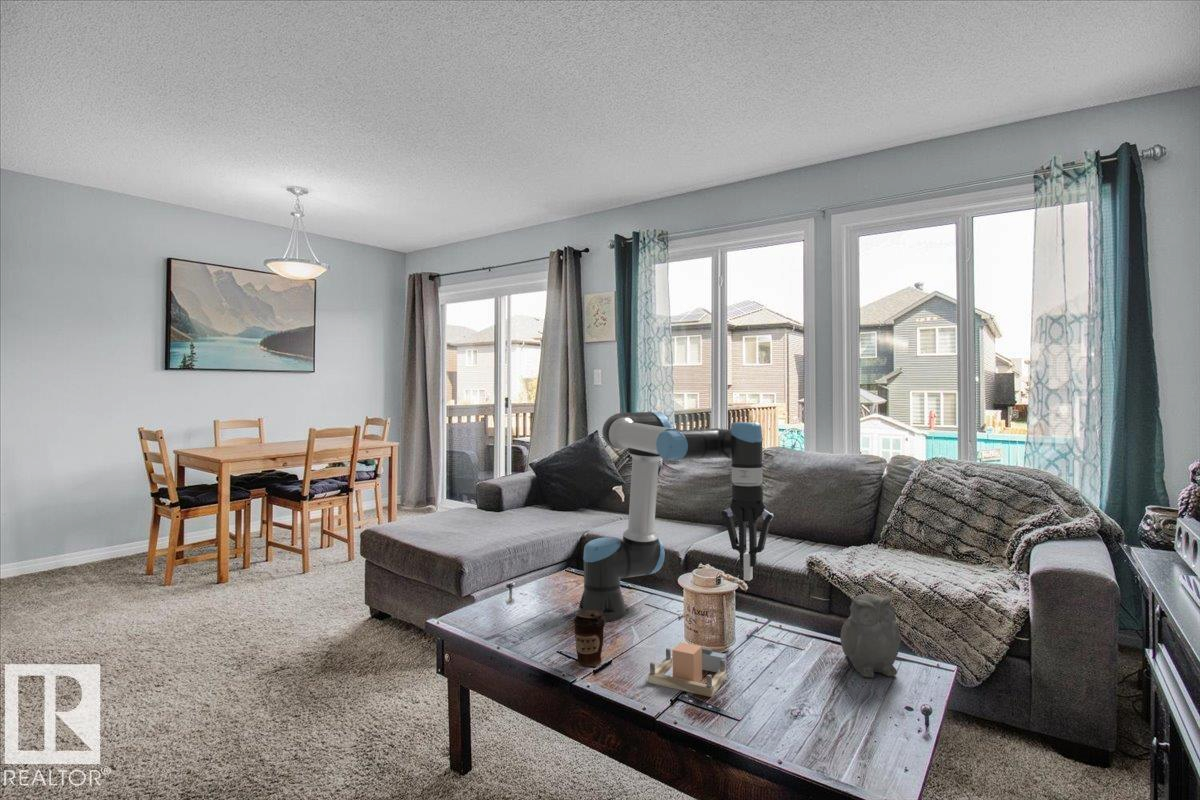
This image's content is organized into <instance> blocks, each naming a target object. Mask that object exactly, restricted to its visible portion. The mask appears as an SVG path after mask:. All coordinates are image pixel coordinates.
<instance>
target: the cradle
mask: <svg viewBox="0 0 1200 800" xmlns="http://www.w3.org/2000/svg"><path fill="white" fill-rule="evenodd" d="M671 656H672V655H671V648H666V649H665V658H664V659H663V661H661V662H659V664H658V665H657V666H656V663H655V662H649V673H648V678H647V679H648V683H649V684H653V685H657V686H662V687H666V688H671V689H675V690H679V691H683V692H686V693H687V692H688V693H692V694H697V695H700V696H705V697H709V698H712V697H713V696H714V695H715V694H716V692H717V691H718V690H719V688H720V687H721V686H722V685H723V683H724V682H725V681H726V680H727V676H728V674H727V670H725V660H724V659H720V670H719V671H718V672H717V673H716V674H715V675H714V676H713V675H712V674H706V683H702V682H699V683H698V682H694V681H689V680H685V679H680V678H676V677H673V676H671V675H666V673H667V672H668V671H669V670H671V668H673V657H671Z"/></svg>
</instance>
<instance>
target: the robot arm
mask: <svg viewBox="0 0 1200 800" xmlns="http://www.w3.org/2000/svg"><path fill="white" fill-rule="evenodd" d="M761 425H762V424H760V423H759V422H757V421H756V422H755V421H754V422H753V421H751V422H749V421H740V422H739V421H737V422H736V421H735V422H732V423H731V425H730V429H725V428H724V429H723V428H710V429H677V428H673V427H672V424H671V421H669V418H668V417H667V416H666V415H665V414H663V413H662V412H654V411H643V412H640V411H638V412H637V411H636V412H635V411H633V412H618V413H616V414H613V415H611V416H609V418H607V419H606V421H605V422H604V424H603V426H602V431H601V433H602V438H603V440H604V441H605V444H607V445H608V446H609V447H611V448H613V449H617V450H627V453H628V455H630V457H631V459H632V461H631V474H630V475H631V478H630V489H629V490H630V492H629V493H630V495H629V506H628V507H629V509H628V522H627V523H628V524H627V525H628V526H627V529H626V530H625V531H623V534H622V540H620V539H619V538H618V537H614V536H608V537H607V536H606V537H605V536H604V537H598V538H595V539H592V540H589V541H588V542H587V543H586V544H585V545H584V548H583V558H582V560H583V586H584V587H583V592H582V595H581V598H580V601H579V605H578V612H582V611H585V610H597V611H601V612H603V616H604V617H605V618H606V620H605V622H611V621H617V620H619V619H622V618H624V617H625V616H626V615H627V614H626V613H627V606H626V603H625V600H624V596H623V594H622V590H621V579H626V578H634V577H641V576H648V575H652V574H656V573H658V571H659V570H661V569H662V567H663V565H664V562H665V555H666V554H665V549H664V544H663V542H662V540H661V539H660V538H659V534H658V533H657V532H656V531H655V526H656V525H655V523H656V522H655V521H656V509H657V495H658V493H657V492H658V480H659V479H658V476H659V465H660V463H659V462H660V459H661V460H664V461H675V462H676V461H681V460H694V459H695V460H698V459H703V460H704V459H731V465H730V466H731V482H732V485H731V503H730V505H729V507H728V508H726V509H724V510H722V511H721V516H722V517H723V519H724V520H725V524H726V528H727V532H728V537H729V541H730V545H731V549H732V550H735V551H737V552H738V553H739V565H740V566H741V567H743V581H748V582H750V581H752V580H753V576H754V575H753V570H754V569H753V568H755V567H756V565H757V554H758V553H761V552H763V551H764V550H765V546H766V543H767V537H768V534H769V528H770V525H771V522H772V520H773V519H774V518H775V514H774V513H773V512H770V511H768V510H766V505H765V504H764V495H763V494H764V492H763V491H764V488H763V486H762V483H763V481H764V480H763V476H764V475H763V474H764V473H763V440H764V439H763V430H762V426H761ZM733 514H734V516H735V518H736V519H737V522H738V523H737V525H738V534H737V529H736V525H735V523H734V522H735V521H734V518H733ZM761 516H762V519H763V521H762V525H761V529H760V532H759V533H760V534H759V538H758V539H757V524H758V520H759V519H760V517H761ZM747 522H748V523H747ZM747 524H748V544H749V547H748V548H747ZM757 541H758V542H757ZM748 549H749V551H747V550H748Z"/></svg>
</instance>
